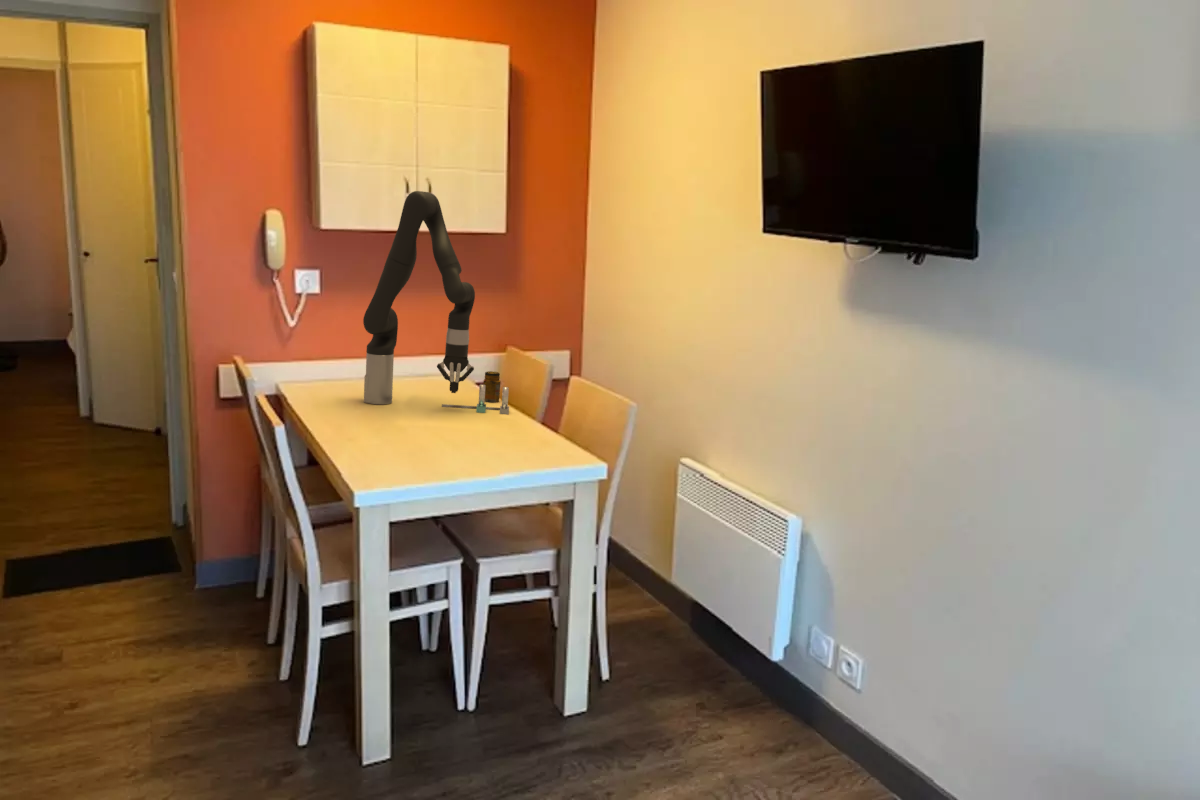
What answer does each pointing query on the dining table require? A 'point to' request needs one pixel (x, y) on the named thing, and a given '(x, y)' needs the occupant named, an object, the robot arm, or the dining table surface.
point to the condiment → (492, 387)
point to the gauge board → (468, 407)
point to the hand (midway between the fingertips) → (453, 392)
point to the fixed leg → (504, 401)
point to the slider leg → (481, 400)
